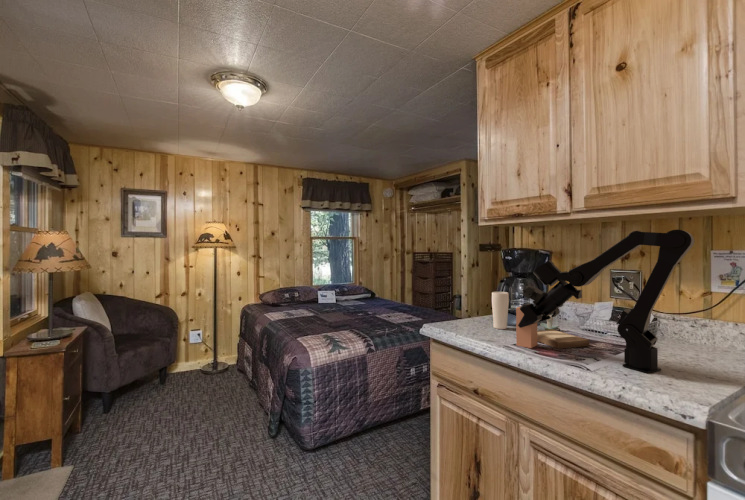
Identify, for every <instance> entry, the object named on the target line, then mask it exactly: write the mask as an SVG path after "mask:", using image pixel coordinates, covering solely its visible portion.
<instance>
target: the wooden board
mask: <svg viewBox="0 0 745 500" xmlns="http://www.w3.org/2000/svg"><path fill="white" fill-rule="evenodd" d="M537 340H538V343H541V344H545V345H546V346H550V347H552V348H556V349H568V348H579V347H589V346H590V339H588V338H585V337H580V336H578V335H573V334H570V333H568V332H567V333H566V332H562V331H561V330H546V329H545V330H537Z"/></svg>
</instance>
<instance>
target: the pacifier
mask: <svg viewBox="0 0 745 500" xmlns="http://www.w3.org/2000/svg"><path fill="white" fill-rule="evenodd" d="M549 316H550V317H551V318H550V319H547V320H546V323H545V322H539V323H540V324H539V325H540V326H541V327H542V328H544V329H545V330H556V331H561V328H560V325H553V322H554V317H553V318H552V315H549Z"/></svg>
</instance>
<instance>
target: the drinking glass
mask: <svg viewBox="0 0 745 500" xmlns="http://www.w3.org/2000/svg"><path fill="white" fill-rule="evenodd" d="M509 296H510V295H509V292H507V291H492V292H491V308H492V309H491V311H492V321H493V322H492V323H493V325H492V326H493V328H494V329H496V330H506V329H508V316H509V315H508V314H509V305H510V297H509Z"/></svg>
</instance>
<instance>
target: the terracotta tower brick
mask: <svg viewBox="0 0 745 500" xmlns="http://www.w3.org/2000/svg"><path fill="white" fill-rule="evenodd" d="M521 306H522V305H521ZM521 306H517V307H516V308H515V315H516V316H515V318H516V319H515V321H516V322H515V324H516V325H515V326H516V327H515V328H516V331H515V333H516V343H515V344H516V346H519V347H523V348H529V349H533V348H534V347H535V348H536V347H538V343H539V342H538V340H537V331H538V323H535V324H531V325H528V326H525V327H521V328H520V327H519V326H518V324H519V323H520V321H521V319H522V318H523V316H524V314H523V312H522V311H521V310H520V307H521Z"/></svg>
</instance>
